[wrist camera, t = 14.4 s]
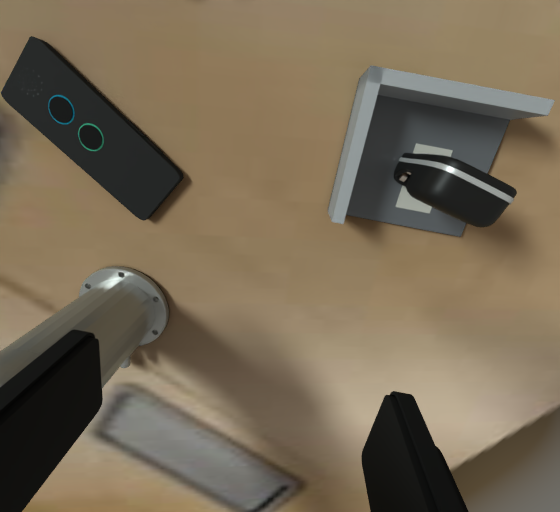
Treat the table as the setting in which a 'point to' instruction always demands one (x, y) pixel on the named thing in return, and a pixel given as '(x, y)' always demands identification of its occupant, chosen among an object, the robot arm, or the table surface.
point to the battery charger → (454, 187)
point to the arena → (417, 141)
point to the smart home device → (89, 129)
